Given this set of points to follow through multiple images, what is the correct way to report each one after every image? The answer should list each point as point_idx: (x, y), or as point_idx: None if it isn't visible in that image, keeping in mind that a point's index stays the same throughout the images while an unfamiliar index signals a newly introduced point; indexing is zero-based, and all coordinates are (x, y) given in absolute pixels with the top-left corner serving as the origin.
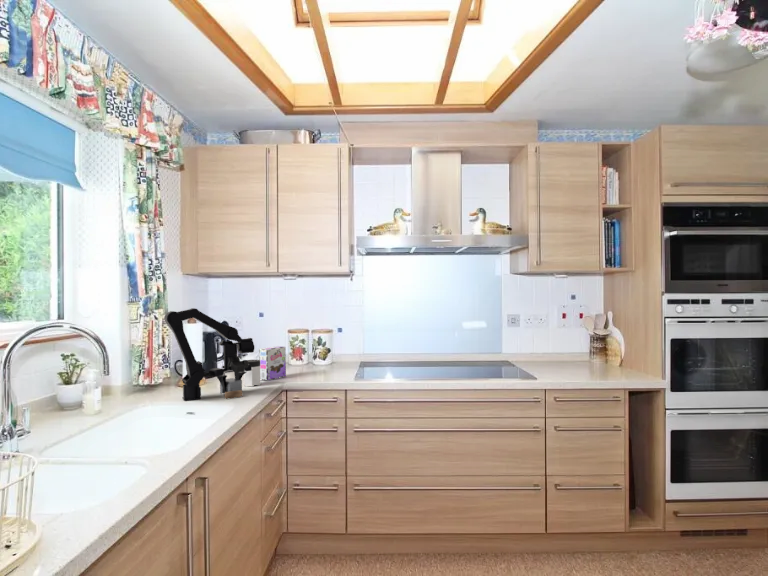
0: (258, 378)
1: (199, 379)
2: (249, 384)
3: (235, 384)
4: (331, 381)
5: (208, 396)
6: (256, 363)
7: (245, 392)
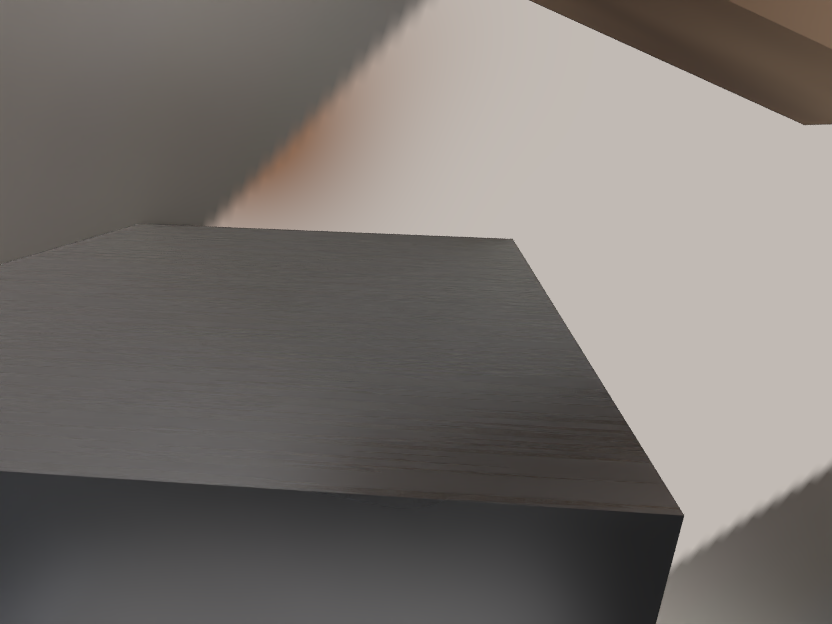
0: None
1: None
2: None
3: (217, 344)
4: None
5: (802, 601)
6: None
7: (30, 220)
